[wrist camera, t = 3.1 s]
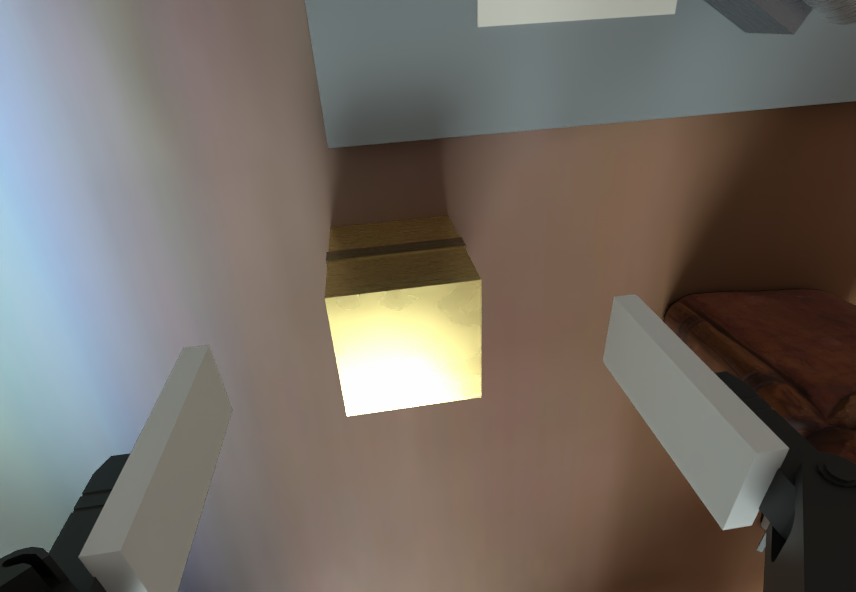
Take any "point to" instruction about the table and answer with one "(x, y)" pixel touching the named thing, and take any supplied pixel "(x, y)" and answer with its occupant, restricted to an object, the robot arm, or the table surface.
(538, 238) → the table surface
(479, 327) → the block
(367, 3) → the base plate
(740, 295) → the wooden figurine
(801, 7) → the shaft
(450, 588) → the table surface
